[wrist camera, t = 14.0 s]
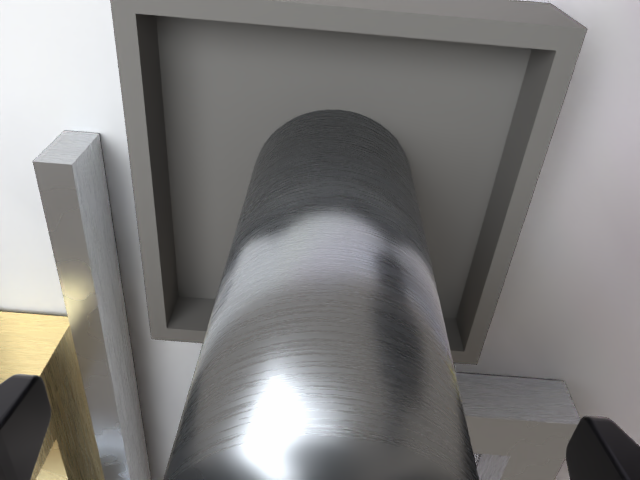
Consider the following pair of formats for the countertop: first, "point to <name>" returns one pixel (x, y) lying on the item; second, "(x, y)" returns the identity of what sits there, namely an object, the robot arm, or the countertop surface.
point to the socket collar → (517, 425)
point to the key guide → (94, 297)
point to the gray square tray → (339, 94)
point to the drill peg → (326, 324)
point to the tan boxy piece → (53, 393)
